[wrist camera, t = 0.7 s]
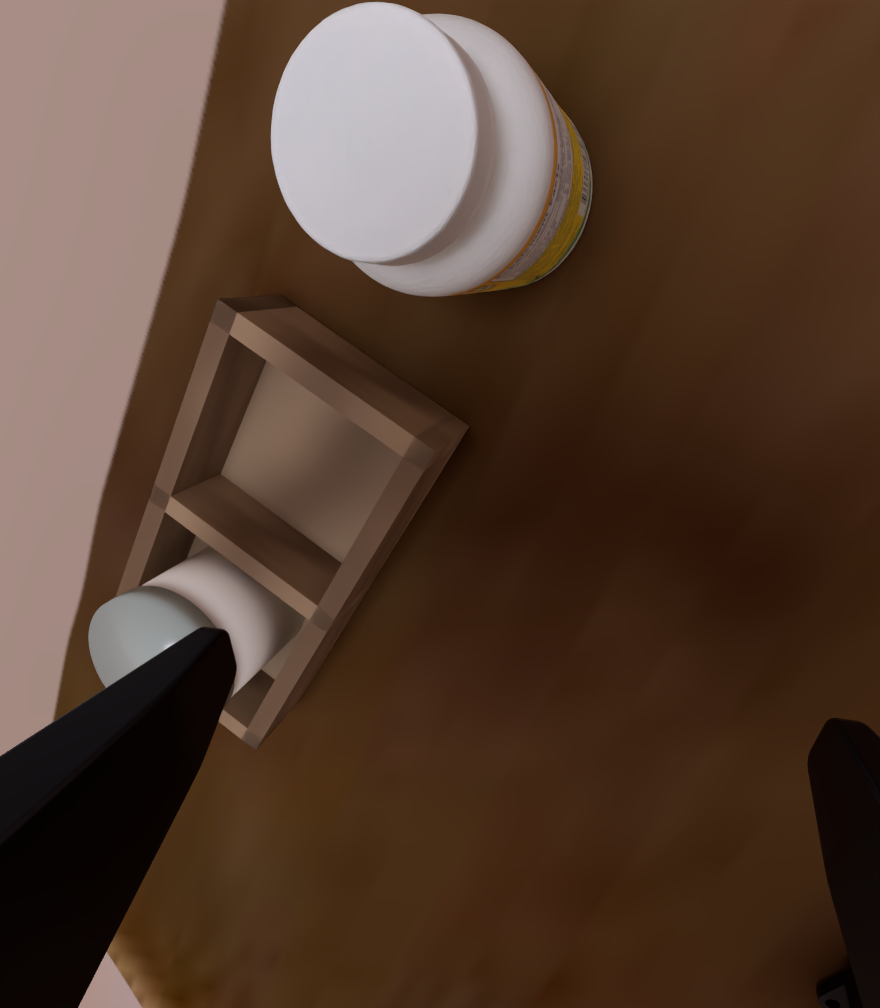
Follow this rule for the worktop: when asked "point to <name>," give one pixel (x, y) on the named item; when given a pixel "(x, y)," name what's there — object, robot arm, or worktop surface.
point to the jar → (192, 618)
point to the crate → (290, 480)
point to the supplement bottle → (427, 153)
